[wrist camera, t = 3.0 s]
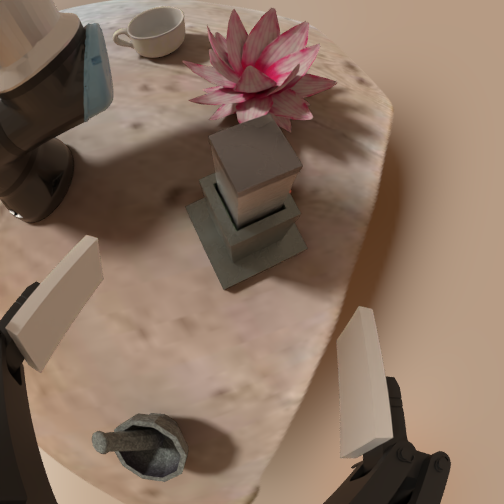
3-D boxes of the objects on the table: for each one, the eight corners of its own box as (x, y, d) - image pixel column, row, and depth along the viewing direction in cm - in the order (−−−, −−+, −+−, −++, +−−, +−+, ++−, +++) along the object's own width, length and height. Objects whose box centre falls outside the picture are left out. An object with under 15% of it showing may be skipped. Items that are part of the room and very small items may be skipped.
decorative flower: (164, 123, 41) (140, 58, 26) (231, 47, 45) (231, -14, 30) (287, 179, 40) (312, 120, 26) (336, 89, 44) (363, 30, 29)
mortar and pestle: (206, 428, 34) (195, 473, 22) (174, 467, 33) (156, 513, 21) (138, 383, 35) (103, 412, 23) (111, 425, 33) (75, 459, 21)
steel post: (222, 218, 37) (208, 135, 18) (253, 204, 38) (269, 113, 18) (237, 249, 37) (237, 192, 17) (269, 234, 37) (302, 165, 18)
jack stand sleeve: (187, 210, 39) (165, 169, 26) (265, 175, 40) (276, 124, 27) (224, 290, 37) (217, 285, 25) (305, 250, 39) (336, 226, 26)
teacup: (192, 31, 45) (188, 3, 37) (182, 63, 43) (177, 32, 36) (130, 38, 45) (121, 12, 37) (115, 70, 43) (102, 43, 35)
